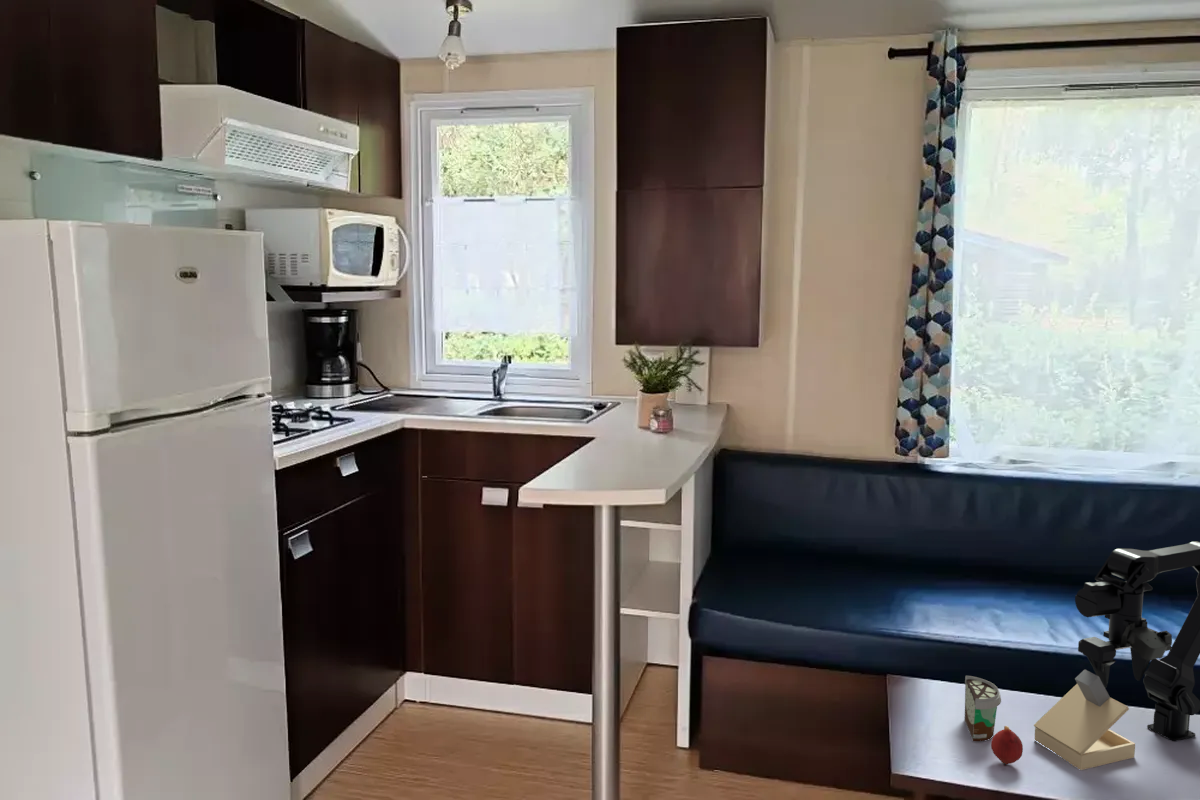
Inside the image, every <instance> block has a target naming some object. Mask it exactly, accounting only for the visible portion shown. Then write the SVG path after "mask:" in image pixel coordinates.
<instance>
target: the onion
mask: <svg viewBox="0 0 1200 800" xmlns="http://www.w3.org/2000/svg"><path fill="white" fill-rule="evenodd" d="M1003 727H1004V728H1003V729H1001V730H999V731H997V732H996V733H995V734H993V737H992V738H991V741H990V742H991V743H990V747H991V748H990V749H991V751H992V753H993V754H994V756H995V757H996V758H997V759H998V760H999V761H1000V762H1001V763H1002V764H1003V763H1005V764H1004V765H1006V764H1007V765H1011V764H1013V763H1015V762H1017V761H1019V760H1020V759H1021V757H1022V756H1023V753H1024V752H1023V751H1024V748H1023V742H1022V740H1021V739H1020V737H1019V736H1018V734H1016V733H1015V732H1014V731H1012V729H1010V727H1009V726H1008V725H1004V726H1003Z"/></svg>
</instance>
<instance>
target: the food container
mask: <svg viewBox="0 0 1200 800" xmlns="http://www.w3.org/2000/svg"><path fill="white" fill-rule="evenodd" d="M964 679H965V680H964V685H965V686H964V687H965V688H964V691H965V693H964V722H965V725H966V728H967V731H968V730H969V731H968V733H969V736H970V735H971V736H970V738H971V741H972V742H976V743H977V742H978V743H979V742H980V743H981V742H986V741H985V740H987V741H989V740H988V739H990V738H991V737H992V736H994V735H995V734H994V732H995V726H996V718H997V717H996V716H997V710H998V706H1000V705H1001V703H1002V697H1001V693H1000V690H999V688H998V686H996V685H995V683H992V682H991V681H988V680H986V679H983V678H981V677H977V676H972V675H965V678H964ZM992 738H993V737H992ZM992 738H991V739H992ZM991 739H990V740H991Z"/></svg>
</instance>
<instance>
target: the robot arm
mask: <svg viewBox="0 0 1200 800" xmlns="http://www.w3.org/2000/svg"><path fill="white" fill-rule="evenodd" d="M1186 568H1193V569H1194V570H1195V571H1196V572H1197V573H1198V574H1197V577H1196V579H1195V585H1196V591H1197V596H1196V598H1195V601H1194V603H1193V604H1192V606H1191V608H1190V611H1189V613H1188V614H1187V616H1186V618H1185V619H1184V622H1183V624H1182V626H1181V627H1180V630H1179V632H1178V634H1177V636H1176V638H1175V639H1174V641H1173V637H1172V636H1173V635H1172V634H1171V633H1170V632H1169V631H1168V630H1162V631H1156V630H1154V629H1152V628H1150V627H1148V621H1147V619H1146V618H1144V617H1142V616H1143V615H1142V614H1143V605H1144V603H1143V602H1144V592H1147V591H1148V592H1149V591H1152V590H1153V586H1151V584H1149V583H1148V582H1150V581H1152V580H1153V579H1155V578H1156V577H1157V575H1159V574H1161V573H1164V572H1171V571H1174V570H1180V569H1186ZM1112 575H1113V576H1112ZM1114 576H1116V577H1118V578H1116V577H1114ZM1119 578H1121V579H1119ZM1122 579H1123V580H1122ZM1094 580H1096V582H1090V581H1089V582H1084V583H1083V588H1080V589H1079V590H1078V591H1077V593H1076V595H1075V597H1074V602H1075V607H1076V608H1077V611H1078V612H1079V613H1080V614H1081V616H1083V617H1084V618H1093V617H1095V618H1096V617H1101V616H1104V618H1105V619H1108V630H1105V631H1103V637H1105V638H1107V639H1108V641H1105V640H1103V639H1101V638H1098V637H1096V636H1092V637H1085V638H1082V639H1080V640H1078V645H1077V646H1078V647H1077V652H1078V653H1081V654H1082V655H1083V656H1085V657H1086V658H1087V659H1088V661H1089V662H1090V664H1091V666H1092V668H1093V671H1094V674H1095V675H1097V676H1099V678H1100V680H1101V681H1102V683H1103V685H1104V687H1105V688H1107V687H1108V684H1109V678H1110V669H1111V665H1113V664H1114V663H1116V662H1117V660H1115V659H1114V658H1116V656H1117V651H1119V650H1124V649H1130V657H1131V664H1132V672H1133V676H1134V679H1135V680H1137V681H1141V680H1142V678H1143V676H1144V678H1143V684H1144V688H1145V690H1146V694H1147V697H1148V698H1149V699H1151V700H1153V701H1155V702H1157V703H1155V707H1154V709H1155V710H1154V712H1153V723H1151V724H1147V726H1146V728H1147V729H1150V730H1151V731H1153V732H1155V733H1157V734H1159V736H1160V735H1161V736H1162V737H1165V738H1167V739H1168V740H1170V741H1172V742H1177V741H1180V740H1185V739H1190V738H1193V737H1195V736H1196V733H1195V732H1193V731H1192V730H1189V729H1190V721H1191V719H1190V717H1191V716H1195V714H1197V713H1199V712H1200V699H1199V698H1198V697H1197V696H1196V695H1195V694H1194V693H1193V691H1194V690H1193V689H1194V687H1195V684H1196V682H1195V676H1194V675H1195V674H1194V667H1195V665H1196V662H1197V660H1198V658H1199V657H1200V541H1191V542H1188V543H1185V544H1179V545H1174V546H1173V545H1171V546H1168V547H1162V548H1161V547H1160V548H1156V549H1149V550H1141V549H1136V548H1135V549H1134V548H1116V549H1114V550H1112V551H1111V553H1110V555H1109V556H1108V557H1107V559H1106V560H1105V562H1104V563H1103V565H1102V566H1101V568H1100V569H1099V571H1098V572H1097V574H1096V576H1095V577H1094ZM1124 580H1125V581H1124ZM1167 651H1168V653H1167V655H1165V656H1164V654H1165V652H1167Z"/></svg>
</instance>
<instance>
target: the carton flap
mask: <svg viewBox="0 0 1200 800" xmlns="http://www.w3.org/2000/svg"><path fill="white" fill-rule="evenodd" d="M1074 680H1075V682H1076V684H1075V685H1074V686H1073V687H1072V688H1071V689H1070V690H1069V691H1068V692H1067V693H1066V694H1064V695H1063V696H1062V698H1060V700H1058V701H1057V702H1056V703H1055V704H1054V705H1052V707H1051V708H1049V709H1048V711H1047V712H1046V713H1045V714H1044V715H1043V716H1041V717H1040V718H1039V719H1038V720H1037V721H1036V722H1035V723H1034V724H1033V727H1034V729H1035V728H1037V729H1038V730H1040V731H1042V732H1043V733H1045V734H1046V735H1048V736H1050V737H1051V738H1053V739H1055V740H1056V741H1058V742H1060V743H1061V744H1063V745H1065V746H1066V747H1068V748H1070V749H1071V750H1073V751H1075V752H1076V753H1078V754H1080V755H1081V756H1082V755H1083V754H1084V753H1085V752H1086V751H1087V750H1088V749H1089V748H1090V747H1091V746H1092V745H1093V744H1094V743H1095V742H1096V741H1097V740H1098V739H1099V738H1100V737H1101V736H1102V735H1103V734H1104V733H1105V732H1106V731H1107V730H1108V729H1110V728H1111V727H1112V726H1114V725H1115V724H1116V723H1117V722H1118V720H1120V719H1121V718H1122V717H1123V716H1124V715H1125V714H1126V713H1127V712H1128V711H1129V710H1130V708H1129V706H1128V705H1126V704H1124V703H1122V702H1120V701H1118V700H1116V699H1114V698H1112V697H1110V695H1109V692H1108V691H1107V689H1106V687H1104V685H1103V683H1102V681H1101V680H1100V678H1099V676H1097V675H1096V673H1093V672H1091V671H1089V670H1087V669H1083V670H1082V671H1081V672H1080V673H1079V674H1078V675H1077V676H1076V677H1075V678H1074Z"/></svg>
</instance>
